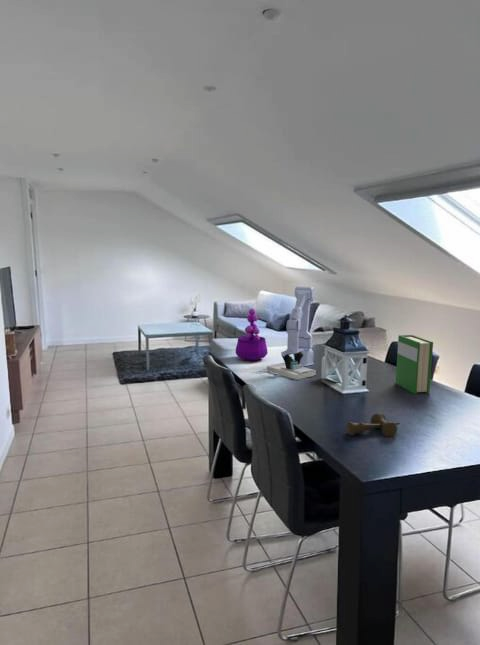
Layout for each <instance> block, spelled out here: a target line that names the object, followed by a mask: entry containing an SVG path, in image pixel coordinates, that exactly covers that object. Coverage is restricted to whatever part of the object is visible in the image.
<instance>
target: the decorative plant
mask: <svg viewBox="0 0 480 645" xmlns="http://www.w3.org/2000/svg"><path fill="white" fill-rule="evenodd" d="M248 314H249V315H248V316H247V317H246V320H247V322H248V323H249V325H247V326H246V327H245V329H244V332H245V333H244V334H245V335H243V336H239V337H238V338H237V344H236V347H235V354H236V356H237V357H238V358H239V359H242V360H246V361H257V360H258V361H259V360H261V359H264V358H266V356H267V355H268V347H267V342H266V337H264V336H259V334H260V333H261V332H260V329H259V328H258V325H257V324H256V323H255V322H257V321H258V320H259V317H258V316H257V315H256V310H255V309H254V308H250V309H249V310H248Z"/></svg>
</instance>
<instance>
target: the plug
mask: <svg viewBox="0 0 480 645" xmlns="http://www.w3.org/2000/svg"><path fill="white" fill-rule="evenodd" d="M293 365H298V361H295V360H294V358H292V359H291V363H290V370H292V366H293ZM286 369H287V368H286Z"/></svg>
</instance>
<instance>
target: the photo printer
mask: <svg viewBox="0 0 480 645" xmlns="http://www.w3.org/2000/svg"><path fill="white" fill-rule="evenodd" d="M325 356H326V355H325ZM325 356H323V357H322V358H321V372H320V373H321V375H320V376H321V379H322V380H324V379H323V378H324V376H325Z"/></svg>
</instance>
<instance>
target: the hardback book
mask: <svg viewBox="0 0 480 645" xmlns="http://www.w3.org/2000/svg"><path fill="white" fill-rule="evenodd" d="M397 339H398V340H397V353H396V354H397V355H396V373H395V384H396V385H398V386H400V387H401V388H403V389H405V390H406V391H408V392H410V393H411V394H414V395H417V393H426V394H430V389H431V379H432V378H431V376H432V375H431V374H432V364H433V349H434V341H432V340H429V339H425V338H423V337H419V336H417V335H414V334H398V338H397Z"/></svg>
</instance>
